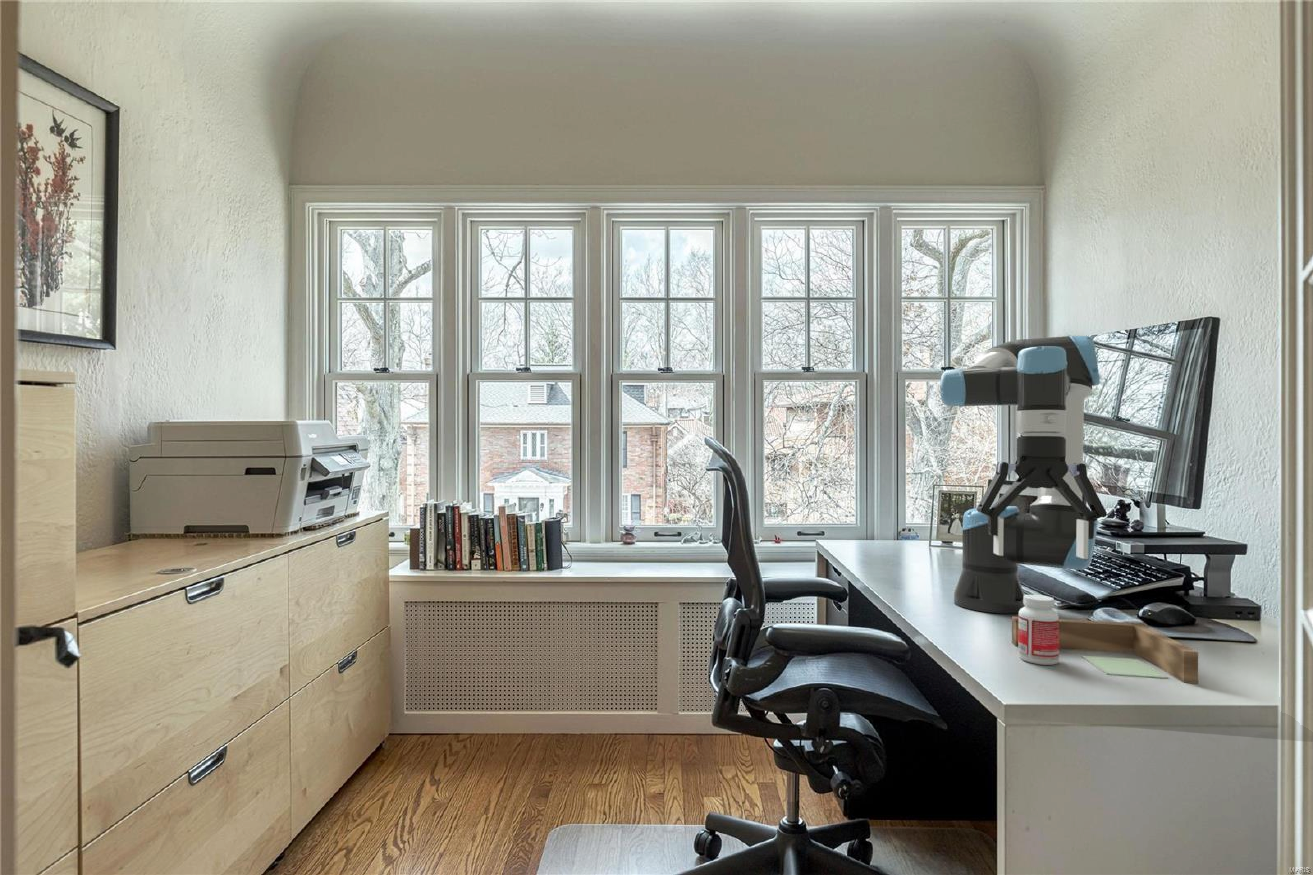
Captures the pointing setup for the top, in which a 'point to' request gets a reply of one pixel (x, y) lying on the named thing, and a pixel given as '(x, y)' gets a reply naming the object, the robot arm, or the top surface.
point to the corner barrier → (1126, 644)
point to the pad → (1124, 667)
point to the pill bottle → (1038, 631)
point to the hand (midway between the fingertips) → (1039, 556)
